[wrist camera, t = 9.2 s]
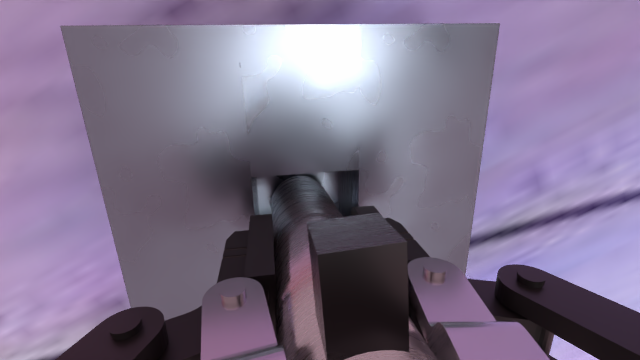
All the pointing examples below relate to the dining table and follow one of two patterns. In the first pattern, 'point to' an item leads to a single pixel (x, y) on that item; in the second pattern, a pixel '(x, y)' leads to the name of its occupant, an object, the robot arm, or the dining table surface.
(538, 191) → the dining table surface
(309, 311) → the chuck key
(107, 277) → the dining table surface
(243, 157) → the block
